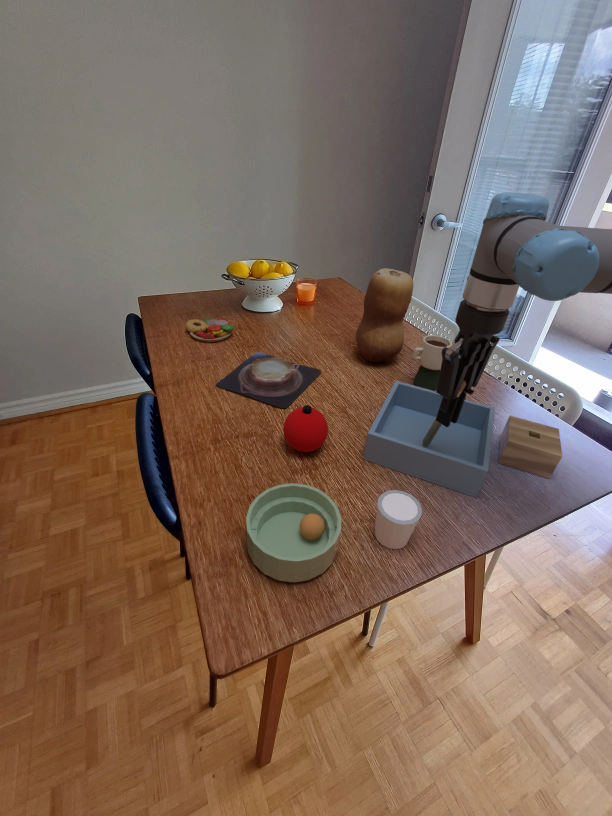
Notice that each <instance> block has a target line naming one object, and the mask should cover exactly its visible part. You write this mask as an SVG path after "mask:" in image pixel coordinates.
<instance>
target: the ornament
mask: <svg viewBox="0 0 612 816" xmlns="http://www.w3.org/2000/svg"><path fill="white" fill-rule="evenodd" d="M282 431H283V436H284V439H285V441H286V442H287V443H288V445H289V446H290V447H291V448H293V450H296V451H297V452H302V453H303V452H304V453H309V452H314V451H316V450H318V449H319V448H320V447H321V446H323V445H324V443H325V442H326V440H327V439H328V438H327V437H328V434H329V424H328V421H327V418H326V417H325V416H324V414H323V413H322V412H321V411H320V410H318V409H317V408H314V407H313V406H311V405H310V404H305V405H303V406H302V407H301V406H300V407H297V408H295V409H293V410H292V411H290V412H289V414H288V415H287V416H286V417H285V420H284V422H283V427H282Z"/></svg>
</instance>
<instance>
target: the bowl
mask: <svg viewBox="0 0 612 816" xmlns="http://www.w3.org/2000/svg"><path fill="white" fill-rule="evenodd" d="M311 513H313V514H317V515H319V516H320V517H321V518H322V519H323V521H324V523H325V530H324V533H323V535H322V536H321V537H320V538H318V539H316V540H309V539H306V538H305V537H304V536H303V535H302V534H301V532H300V522H301V520H302V518H303V517H304V516H305V515H307V514H311ZM342 522H343V521H342V516H341V513H340V510H339V507H338V505H337V504H336V503H335V501H334V500H333V499H332V498H331V497H330V496H329V495H328V494H326V493H325V492H323V491H322V490H321V489H319V488H316V487H314V486H311V485H308V484H304V483H303V484H302V483H297V482H296V483H295V482H291V483H282V484H278V485H275V486H272V487H270V488H267V489H265V490H264V491H262V492H261V493H260V494H259V495H257V496H256V497H255V498H254V499H253V501H252V502H251V503H250V505H249V506H248V510H247V513H246V517H245V529H246V530H245V531H246V548H247V553H248V555H249V557H250V559H251V562H252V563H253V564H254V566H256V568H257V569H259V571H261V572H262V573H263V574H264V575H265V576H268V577H270V578H272V579H274V580H276V581H280V582H287V583H298V582H306V581H310V580H312V579H314V578H315V577H318V576H321V575H323V573H324V572H326V570H327V569H328V568H330V566H331V565H332V564H333V563H334V560H335V558H336V556H337V553H338V550H339V546H340V545H339V544H340V539H341V533H342Z"/></svg>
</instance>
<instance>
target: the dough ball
mask: <svg viewBox="0 0 612 816" xmlns="http://www.w3.org/2000/svg"><path fill="white" fill-rule="evenodd" d="M324 530H325V523H324V521H323V519H322V518H321V517H320V516H319V515H317V514H313V513H311V514H307V515H305V516H304V517H303V518H302V520H301V522H300V532H301V534H302V535H303V536H304V537H305V538H306V539H309V540H316V539H318V538H320V537H321V536H322V535H323V533H324Z"/></svg>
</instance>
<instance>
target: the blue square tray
mask: <svg viewBox="0 0 612 816" xmlns="http://www.w3.org/2000/svg"><path fill="white" fill-rule="evenodd" d="M442 398H443V396H441V395H440V394H438V393H437V390H429V389H425V388H421V387H418V386H417V385H413V384H410V383H406V382H402V381H399V380H395V381H394V383H393V385H392V387H391V389H390V390H389V392H388V395H387V396H386V399H385V400H384V402H383V404H382V406H381V407H380V409H379V412H378V413H377V415H376V417H375V419H374V421H373V423H372V424H371V427H370V428H369V430H368V433H367V436H366V441H365V445H364V451H363V456H362V460H364V461H367V462H369V463H372V464H375V465H379V466H382V467H385V468H388V469H390V470H394V471H396V472H400V473H402V474H405V475H408V476H411V477H413V478H417V479H420V480H423V481H426V482H429V483H431V484H433V485H437V486H440V487H444V488H446V489H449V490H451V491H454V492H458V493H461V494H464V495H467V496H470V497H472V498H475V499H476V498H478V496H479V494H480V491H481V489H482V487H483V485H484V482H485V480H486V479H487V475H488V474H489V470H490V461H491V451H492V443H493V431H494V423H495V422H494V421H495V415H496V407H495V406H492V405H487V404H485V403H480V402H477V401H472V400H469V399H466V398H465V401H464V403H463V406H462V409H461V412H460V415H459V417H458V420H457V423H455V424H454V423H452V422H451V423H450V426H449V427H445V426H444V425H441V427H440V428H439V430H438V432H437V433H436V435H435V437H434V438H433V440H432V441H431V443H430V445H428V446H425V445H423V443H422V441H423V439H424V437H425V436H426V434H427V432H428V431H429V429H430V427H431V425H432V424H433V422H434V420H435V419H436V417H437V414H438V411H439V408H440V405H441V401H442Z"/></svg>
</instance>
